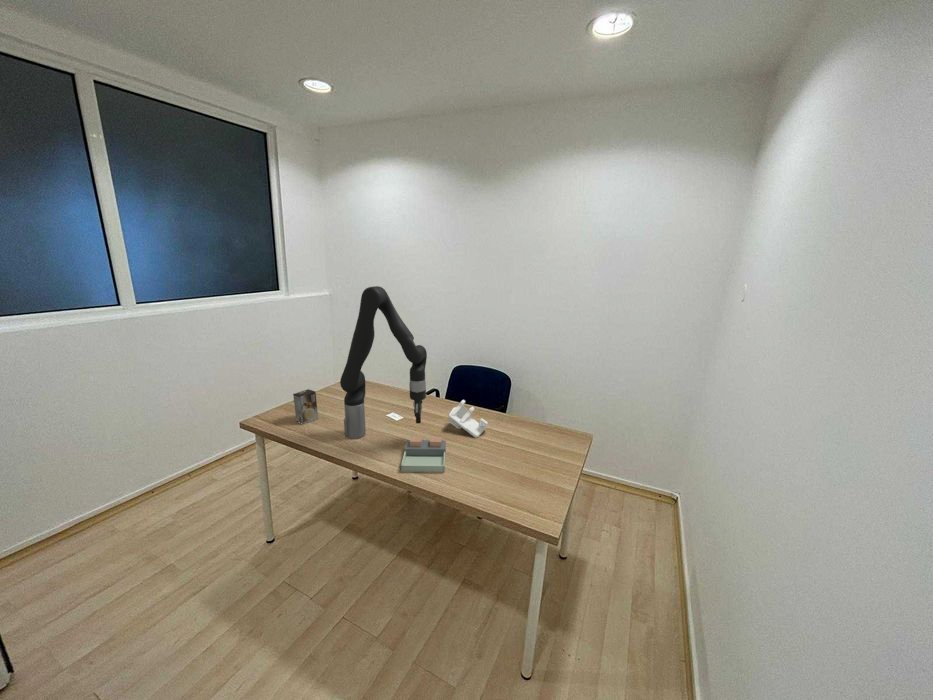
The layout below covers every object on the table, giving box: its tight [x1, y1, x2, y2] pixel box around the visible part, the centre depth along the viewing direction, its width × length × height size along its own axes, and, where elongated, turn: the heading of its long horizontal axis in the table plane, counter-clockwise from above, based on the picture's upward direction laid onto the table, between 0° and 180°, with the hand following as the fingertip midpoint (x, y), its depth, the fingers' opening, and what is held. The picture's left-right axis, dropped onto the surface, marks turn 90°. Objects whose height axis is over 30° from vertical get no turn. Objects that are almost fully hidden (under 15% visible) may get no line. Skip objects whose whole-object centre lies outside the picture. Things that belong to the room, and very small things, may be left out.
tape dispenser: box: [447, 399, 489, 439], centre depth 182 cm, size 20×11×13 cm, turn 66°
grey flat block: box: [404, 439, 447, 457], centre depth 161 cm, size 18×8×4 cm, turn 92°
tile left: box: [409, 435, 423, 447], centre depth 160 cm, size 5×5×2 cm
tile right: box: [429, 435, 443, 447], centre depth 160 cm, size 5×5×2 cm
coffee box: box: [292, 388, 319, 425], centre depth 187 cm, size 9×6×16 cm
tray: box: [400, 450, 446, 474], centre depth 151 cm, size 18×11×3 cm, turn 92°
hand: (418, 422), depth 167 cm, fingers closed
